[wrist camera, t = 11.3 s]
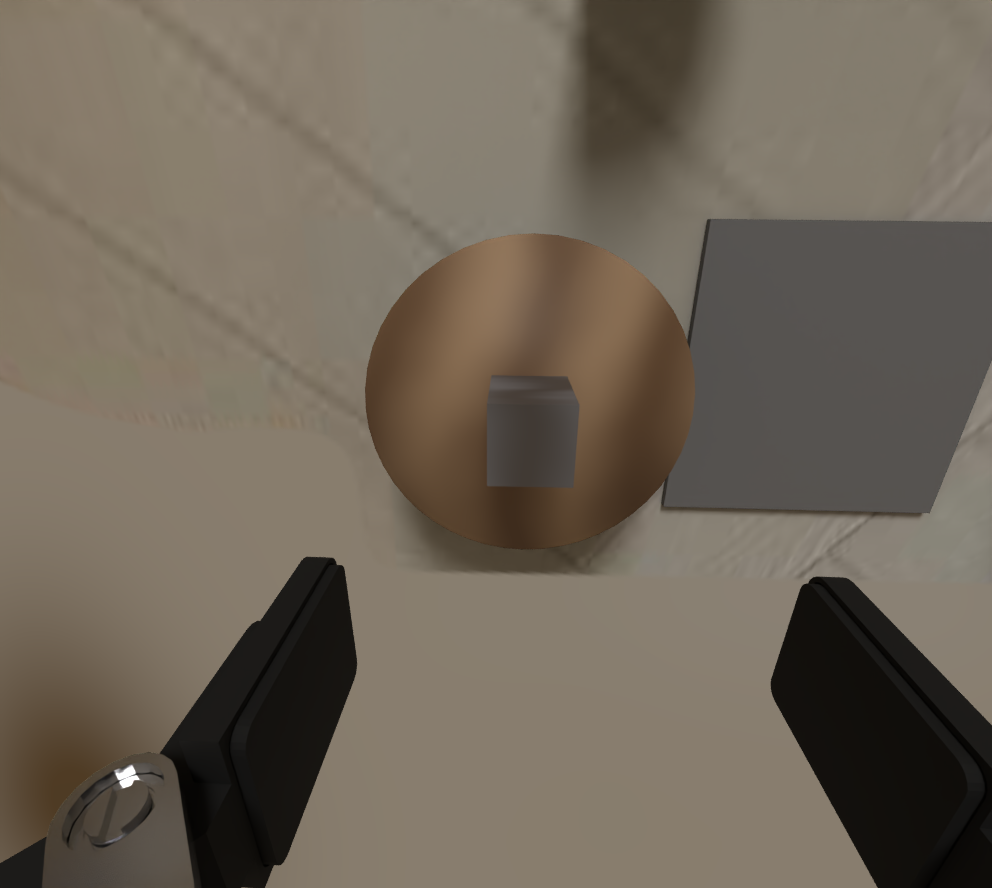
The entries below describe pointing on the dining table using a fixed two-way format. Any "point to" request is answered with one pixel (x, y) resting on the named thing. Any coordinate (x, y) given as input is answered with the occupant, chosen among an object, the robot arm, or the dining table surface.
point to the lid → (530, 391)
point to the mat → (833, 363)
